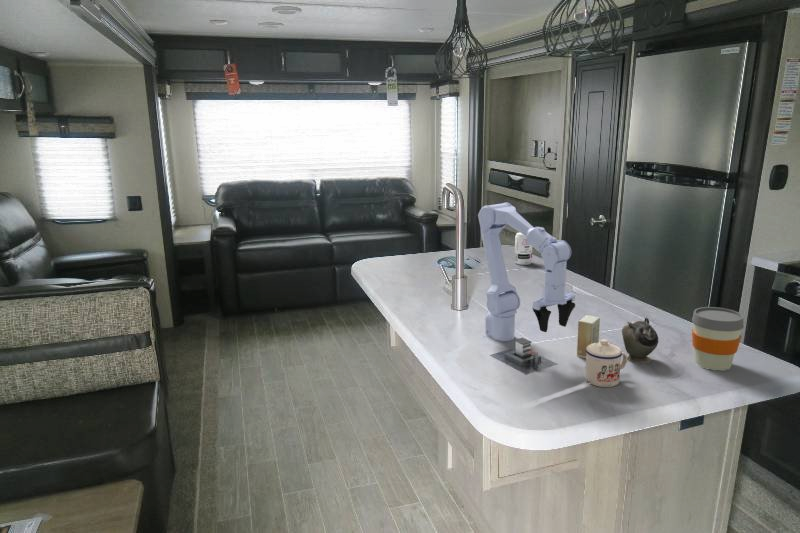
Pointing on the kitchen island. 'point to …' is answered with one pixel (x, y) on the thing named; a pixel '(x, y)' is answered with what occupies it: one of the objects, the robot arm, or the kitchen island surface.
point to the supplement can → (522, 250)
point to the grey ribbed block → (522, 348)
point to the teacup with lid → (604, 364)
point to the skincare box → (587, 333)
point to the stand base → (523, 361)
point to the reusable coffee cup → (716, 336)
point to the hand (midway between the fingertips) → (553, 328)
